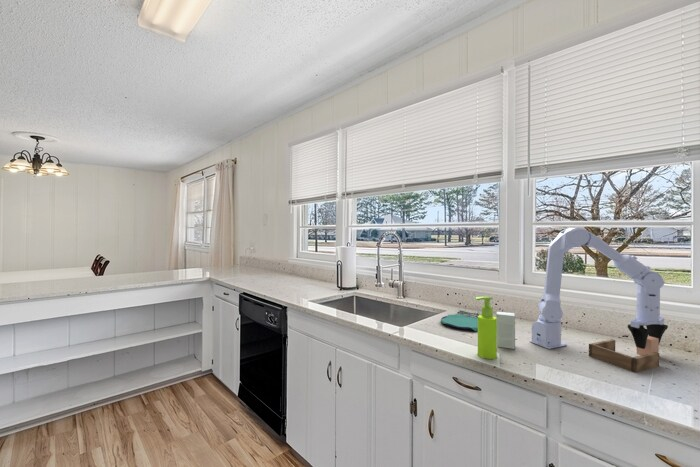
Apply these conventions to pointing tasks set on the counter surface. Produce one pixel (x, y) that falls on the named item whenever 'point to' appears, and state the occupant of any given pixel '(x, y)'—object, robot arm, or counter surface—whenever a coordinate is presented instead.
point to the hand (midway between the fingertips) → (647, 346)
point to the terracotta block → (649, 346)
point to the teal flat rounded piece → (462, 320)
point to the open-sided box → (622, 357)
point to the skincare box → (505, 330)
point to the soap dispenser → (487, 330)
